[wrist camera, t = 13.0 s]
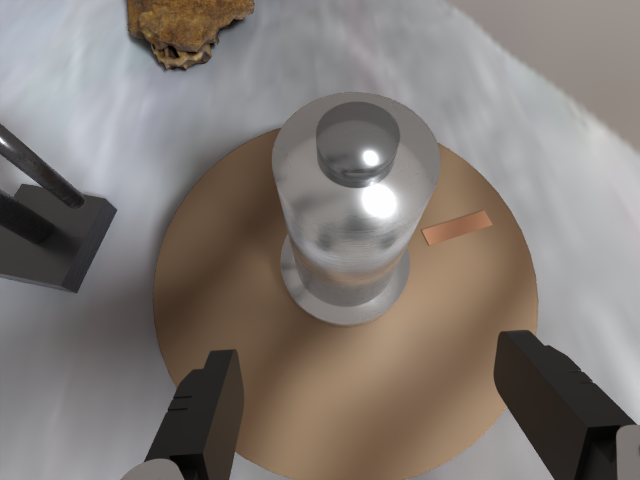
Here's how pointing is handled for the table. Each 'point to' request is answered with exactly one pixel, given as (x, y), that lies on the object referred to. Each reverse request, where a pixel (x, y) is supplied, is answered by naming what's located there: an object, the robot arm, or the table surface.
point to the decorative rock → (183, 26)
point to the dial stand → (47, 224)
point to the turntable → (346, 343)
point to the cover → (351, 203)
